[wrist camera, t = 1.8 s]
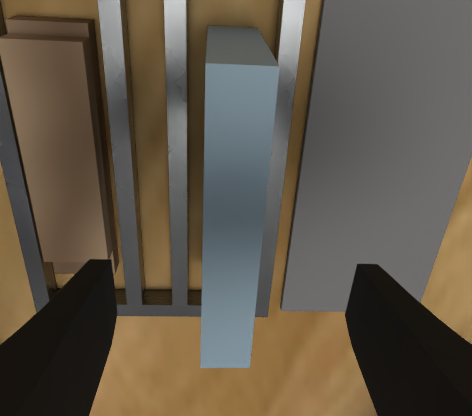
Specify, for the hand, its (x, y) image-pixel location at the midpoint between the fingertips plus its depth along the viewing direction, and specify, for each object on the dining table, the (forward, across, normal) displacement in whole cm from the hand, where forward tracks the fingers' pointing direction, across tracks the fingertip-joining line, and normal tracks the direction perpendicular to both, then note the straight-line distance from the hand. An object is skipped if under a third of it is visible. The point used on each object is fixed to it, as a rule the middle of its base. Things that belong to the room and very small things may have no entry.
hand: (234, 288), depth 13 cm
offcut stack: (+9, +7, 0) cm, 11 cm away
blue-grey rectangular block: (+9, 0, 0) cm, 9 cm away
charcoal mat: (+9, -7, 0) cm, 12 cm away
